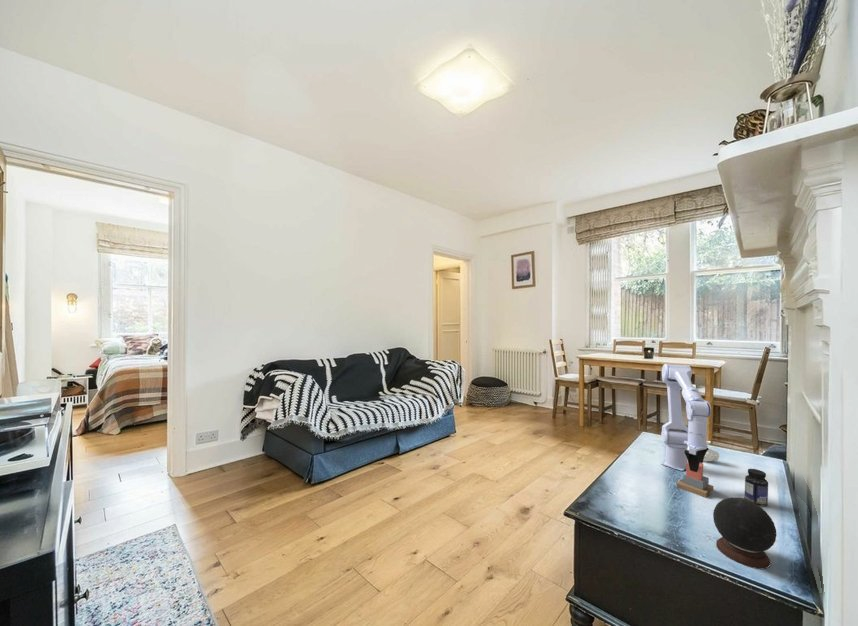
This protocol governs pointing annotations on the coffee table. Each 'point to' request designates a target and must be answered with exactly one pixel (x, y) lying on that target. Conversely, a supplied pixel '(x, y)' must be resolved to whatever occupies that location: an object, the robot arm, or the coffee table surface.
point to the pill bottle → (756, 487)
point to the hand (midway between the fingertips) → (695, 468)
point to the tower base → (695, 489)
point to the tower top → (697, 482)
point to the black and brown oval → (744, 531)
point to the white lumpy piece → (710, 454)
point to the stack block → (695, 475)
